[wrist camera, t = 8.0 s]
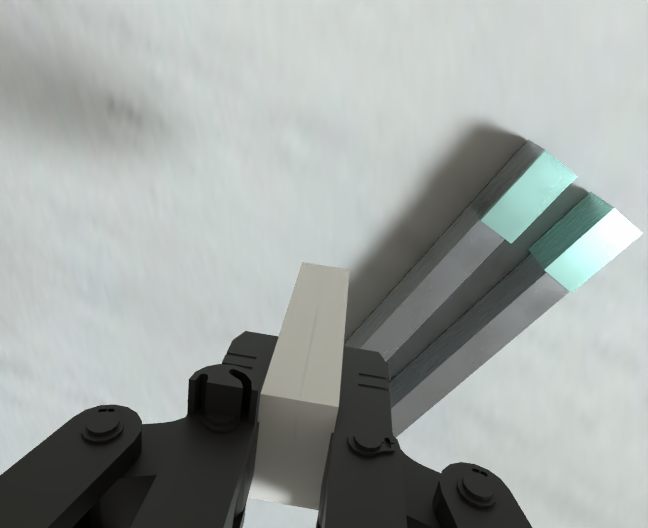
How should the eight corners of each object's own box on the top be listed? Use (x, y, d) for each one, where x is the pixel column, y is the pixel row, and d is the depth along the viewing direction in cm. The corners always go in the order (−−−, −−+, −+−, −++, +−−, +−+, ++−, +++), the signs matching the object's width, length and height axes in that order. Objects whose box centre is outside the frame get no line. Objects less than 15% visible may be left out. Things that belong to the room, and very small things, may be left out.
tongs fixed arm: (348, 449, 32) (346, 489, 29) (303, 418, 32) (296, 456, 29) (616, 215, 24) (649, 238, 22) (563, 167, 24) (590, 184, 21)
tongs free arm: (343, 388, 30) (341, 417, 28) (318, 372, 30) (314, 400, 28) (557, 163, 24) (577, 176, 21) (528, 139, 23) (545, 150, 21)
